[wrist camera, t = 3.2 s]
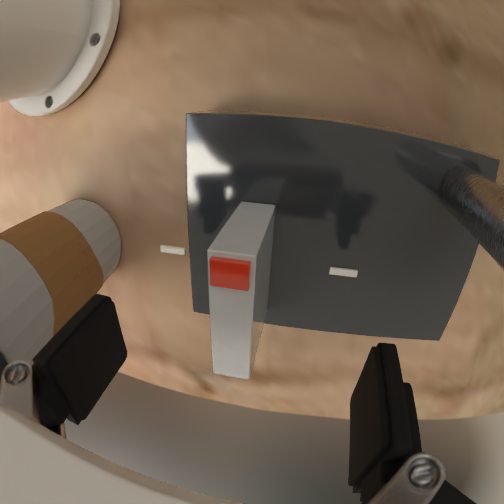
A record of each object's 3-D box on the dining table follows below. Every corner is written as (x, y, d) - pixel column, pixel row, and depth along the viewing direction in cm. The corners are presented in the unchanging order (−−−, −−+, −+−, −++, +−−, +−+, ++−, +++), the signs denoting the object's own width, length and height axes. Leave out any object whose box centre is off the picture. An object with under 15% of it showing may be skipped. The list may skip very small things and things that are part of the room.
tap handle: (267, 310, 17) (248, 384, 12) (238, 306, 17) (211, 377, 12) (275, 204, 14) (254, 259, 9) (241, 201, 14) (204, 253, 10)
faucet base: (188, 277, 21) (167, 308, 18) (183, 110, 16) (152, 114, 13) (426, 307, 19) (439, 342, 16) (469, 147, 14) (501, 160, 11)
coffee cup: (70, 161, 19) (-110, 259, 6) (154, 230, 20) (-8, 401, 7) (45, 241, 23) (-78, 344, 10) (114, 301, 24) (7, 439, 11)
